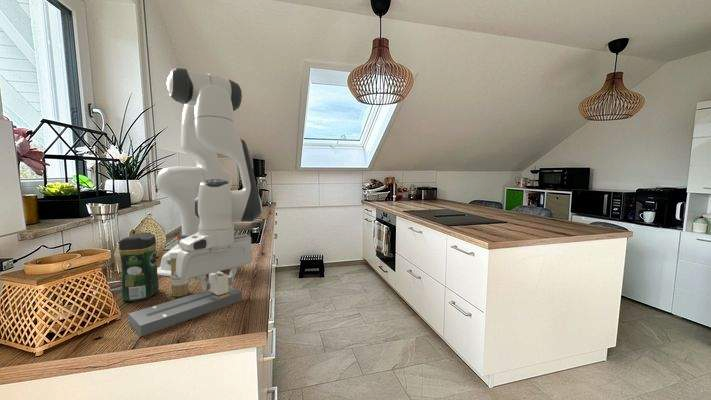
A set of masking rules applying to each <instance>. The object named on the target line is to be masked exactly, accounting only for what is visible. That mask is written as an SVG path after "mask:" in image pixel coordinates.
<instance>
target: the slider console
mask: <svg viewBox="0 0 711 400" xmlns="http://www.w3.org/2000/svg"><path fill="white" fill-rule="evenodd" d="M242 301H243V291H241V290H239V289H238V288H235V287H232V286H231V285H229V284H228V292H227V293H224V294H221V295H216V294H214V293H212V292H210V291H209V290H205V291H204V290H202V291H200V292H196V293H193V294H190V295H185V296H181V297H180V298H179V297H178V298H175V299H173V300H170V301H167V302H162V303H158V304H155V305H152V306H149V307H146V308H143V309H139V310H136V311H133V312H130V313H128V324H129V325H130V326H131V327H132V329H133V330H134V331H135V332H136V333H137V334H138V335H139V336H140V337H144V336H147V335H149V334H152V333H156V332H157V331H158V332H159V331H161V330H163V329H166V328H170V327H172V326H175V325H177V324H178V325H179V324H181V323H183V322H186V321H188V320H191V319H194V318H197V317H200V316H203V315H205V314H208V313H210V312H213V311H216V310H219V309H222V308H225V307H227V306H231V305H233V304H236V303H239V302H242Z"/></svg>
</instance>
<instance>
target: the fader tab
mask: <svg viewBox="0 0 711 400" xmlns="http://www.w3.org/2000/svg"><path fill="white" fill-rule="evenodd" d="M228 276H229V274H227V273H224V272H222V271H218V272H214V273H210V274H208V283H210V289H209V291H210V292H212V293H214V294H216V295H221V294H224V293H227V292H228V285H229V284H228Z"/></svg>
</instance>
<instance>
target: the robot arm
mask: <svg viewBox="0 0 711 400" xmlns="http://www.w3.org/2000/svg"><path fill="white" fill-rule="evenodd" d="M166 87H167V91H168V94H169V97H171V99H172V100H174V101H176V102H178V103H180V104H182V105H183V109H182V115H181V125H180V126H181V130H180V131H181V132H180V133H181V134H180V147H181V149H182V151H183V152H185V154H187V155H188V156H190V157H192V158H194V161H195V163H196V164H195V165H196V166H189V165H187V166H184V165H183V166H182V165H175V166H169V167H164V168H161V169H160V171H159V172H158V173H157V175H156V177H155V178H156V179H155V184H156V188H157V189H158V191H159V192H160V194H162V195H163V196H165V197H167V198H168V199H169V200H171V201H172V203H174V204H175V206H176V207H177V210H178V212H179V216H180V222H181V234H179V235H177V236H175V237H174V238H175V239H174V240H175V241H177V240H178V241H177V244H176V245H175V246H173V247H172V248H171V249H169V250H168V251H167V252H165V253H164V254H163V256H162V257H161V261H160V266H159V267H157V274H158V276H165V277H171V259H170V251H172V250H176V249H181V250H180V251H179V252H178V254H177V259H176V275H177V276H178V277H179V278H180V279H182V280H187V279H188V280H190V279H195V278H196V279H197V280H198V281H199V282H200V283H201V289H202V291H206V290H209V289H210V283H209V281H206V280H205V279H206V278H207V275H209V274H210V273H214V272H218V271H220V272H222V271H226V270H230V271H229V273H228V285H229V284H232V283H234V280H235V279H234V277H235V275H236V274H237V271H238V267H241V266H245V265H249V264H252V262H253V259H254V256H253V255H254V254H253V248H252V236H250V234H247V233H240V234H235V230H234V227H235V226H234V225H235V224H234V222H250V223H251V222H253V221H256V220H257V219H258V218H259V217H260V215H262V211H263V204H262V203H263V202H262V200H261V199H262V198H261V197H260V194H259V192H258V188H257V183H256V178H255V173H254V169H253V165H252V163H253V162H252V159H251V155H250V151H249V148H248V145H247V143H246V141H245V140H243V139H242V138H240V136H239V135H238V133H237V131H236V127H235V115H234V112H235V111H236V110H238V109H239V108H240V106H241V104H242V99H243V94H242V93H243V92H242V88H241V87H240V85H239V83H237V82H235V81H233V80H232V79H226V78H225V77H224V78H223V77H221V76H217V75H215V74H212V73H206V72H202V71H200V72H199V71H195V70H190V69H189V70H187V68H180V67H179V68H177V67H175V68H173V69H171V70H170V72H169V75H168V77H167V80H166ZM218 154H220V155H223V156H226V157H227V158H230V159H232V160H233V161H234V162H235V163H236V164H237V166H238V169H239V173H240V175H239V176H240V179H241V184H242V189H240V190H237V189H236V190H232V185H233V178H232V175H231V174H230V172H229V171H228V170H227V169H226V168H225V167H223V165H222V163H221V161H220V159H219V157H218Z"/></svg>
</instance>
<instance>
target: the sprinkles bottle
mask: <svg viewBox="0 0 711 400" xmlns="http://www.w3.org/2000/svg"><path fill="white" fill-rule="evenodd" d="M180 250H181V249H176V250H172V251H170V259H171V276H170V280H171V283H170V284H171V296H172V297H178V298H179V297H185V296H187V295H188V294H189V292H190V290H189V282H190V281H189V279H187V280H182V279H180V278H179V277H178V276H177V275H176V259H177V254H178V252H179V251H180Z"/></svg>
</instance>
